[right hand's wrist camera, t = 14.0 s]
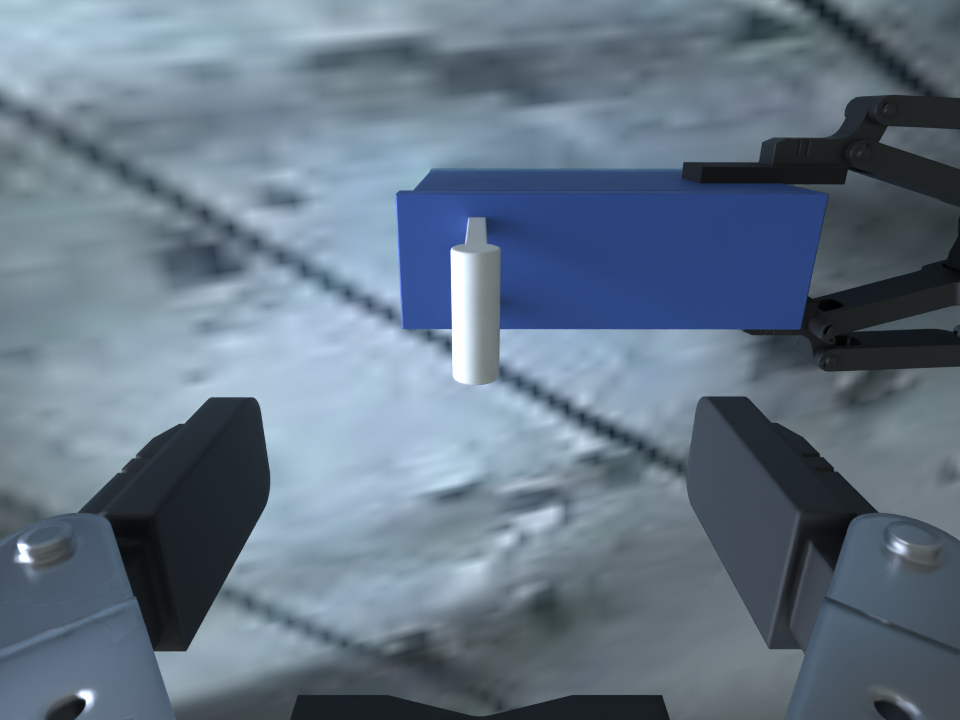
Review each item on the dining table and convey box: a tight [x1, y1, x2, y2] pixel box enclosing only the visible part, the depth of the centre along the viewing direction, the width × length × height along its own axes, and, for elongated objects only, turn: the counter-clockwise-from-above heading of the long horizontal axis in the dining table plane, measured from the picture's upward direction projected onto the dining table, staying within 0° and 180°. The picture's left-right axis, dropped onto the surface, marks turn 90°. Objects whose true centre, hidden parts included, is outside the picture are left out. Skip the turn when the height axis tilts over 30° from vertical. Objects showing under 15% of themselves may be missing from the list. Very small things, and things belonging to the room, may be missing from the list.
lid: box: [396, 191, 828, 385], centre depth 22 cm, size 17×6×9 cm, turn 90°
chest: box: [413, 169, 812, 191], centre depth 31 cm, size 16×6×11 cm, turn 90°
